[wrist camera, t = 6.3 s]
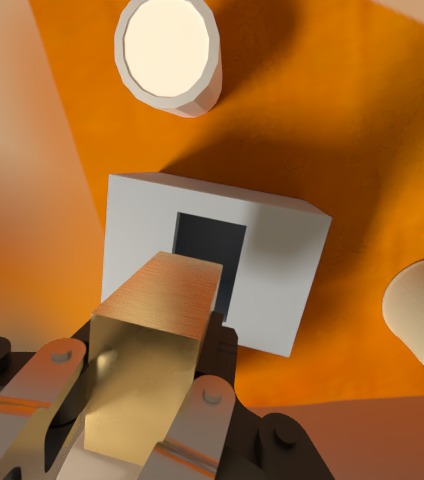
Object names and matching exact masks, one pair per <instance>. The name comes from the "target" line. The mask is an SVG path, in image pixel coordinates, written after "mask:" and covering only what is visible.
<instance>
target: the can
mask: <svg viewBox="0 0 424 480" xmlns="http://www.w3.org/2000/svg"><path fill="white" fill-rule="evenodd" d="M382 312H383V316H384V319H385V322H386V324H387V325H388V327H389V328H390V329H391V331H392V332H393V333H394V334H395V335H396V336H398V337H399V338H400V339H401V340H402V341H403V342H404V343H405V344H406V345H407V346H408V348H409V349H410V350H411V351H412V352H413V353H414V354H415V356H416V357H417V358H418V359H419V360H420V361H421V363H422V364H423V365H424V260H421V261H419V262H416V263H414V264H412V265H410V266H408V267H407V268H405V269H404V270H402V271H401V272H400V273H398V274H397V275H396V276H395V277H394V279H393V280H392V281H391V282H390V284H389V285H388V287H387V289H386V291H385V293H384V297H383V301H382Z"/></svg>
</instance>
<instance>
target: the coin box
mask: <svg viewBox="0 0 424 480" xmlns="http://www.w3.org/2000/svg"><path fill="white" fill-rule="evenodd" d="M331 221H332V217H330V216H329V215H327V214H326V213H324V212H323V211H321V210H319V209H318V208H316V207H315V206H313V205H312V204H310V203H308V202H307V201H305V200H301V199H296V198H291V197H286V196H280V195H275V194H270V193H265V192H260V191H254V190H249V189H244V188H239V187H233V186H228V185H223V184H218V183H212V182H207V181H202V180H197V179H192V178H186V177H181V176H176V175H171V174H165V173H160V172H148V173H124V174H109V185H108V201H107V217H106V233H105V250H104V267H103V282H102V298H101V303H102V302H103V301H105V300H106V299H107V298H108V297H109V296H110V295H111V294H112V293H113V292H115V291H116V290H117V289H118V288H119V287H120V286H121V285H122V284H123V283H125V282H126V281H127V280H128V279H129V278H130V277H131V276H132V275H133V274H135V273H136V272H137V271H138V270H139V269H140V268H141V267H142V266H143V265H145V264H146V263H147V262H148V261H149V260H150V259H151V258H152V257H153V256H155V255H156V254H157V253H158V252H159V251H163V252H167V253H172V254H176V255H181V256H186V257H190V258H195V259H199V260H204V261H208V262H213V263H217V264H222V265H223V268H222V273H221V278H220V283H219V288H218V293H217V298H216V303H215V308H214V311H215V312H219V313H223V314H224V318H223V323H222V326H226V327H230V328H234V329H235V331H236V333H237V336H238V345H241V346H245V347H249V348H253V349H257V350H261V351H265V352H269V353H273V354H277V355H281V356H285V357H289V356H290V353H291V349H292V346H293V343H294V340H295V337H296V333H297V330H298V327H299V324H300V320H301V317H302V314H303V311H304V308H305V304H306V301H307V298H308V295H309V292H310V288H311V285H312V282H313V279H314V275H315V272H316V269H317V266H318V263H319V259H320V256H321V253H322V250H323V247H324V243H325V240H326V237H327V234H328V230H329V227H330V224H331Z"/></svg>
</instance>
